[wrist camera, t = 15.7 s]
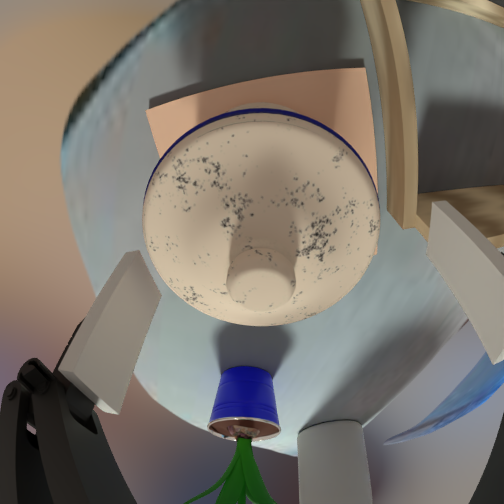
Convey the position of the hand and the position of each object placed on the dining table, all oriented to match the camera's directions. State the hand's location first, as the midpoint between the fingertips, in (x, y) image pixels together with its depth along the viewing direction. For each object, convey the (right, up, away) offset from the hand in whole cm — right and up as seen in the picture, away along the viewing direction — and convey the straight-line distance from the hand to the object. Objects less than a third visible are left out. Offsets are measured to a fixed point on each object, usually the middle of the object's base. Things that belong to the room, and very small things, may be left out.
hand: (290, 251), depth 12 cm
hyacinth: (-3, -15, +21) cm, 26 cm away
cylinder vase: (+13, -34, +32) cm, 49 cm away
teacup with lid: (-1, +4, +7) cm, 8 cm away
